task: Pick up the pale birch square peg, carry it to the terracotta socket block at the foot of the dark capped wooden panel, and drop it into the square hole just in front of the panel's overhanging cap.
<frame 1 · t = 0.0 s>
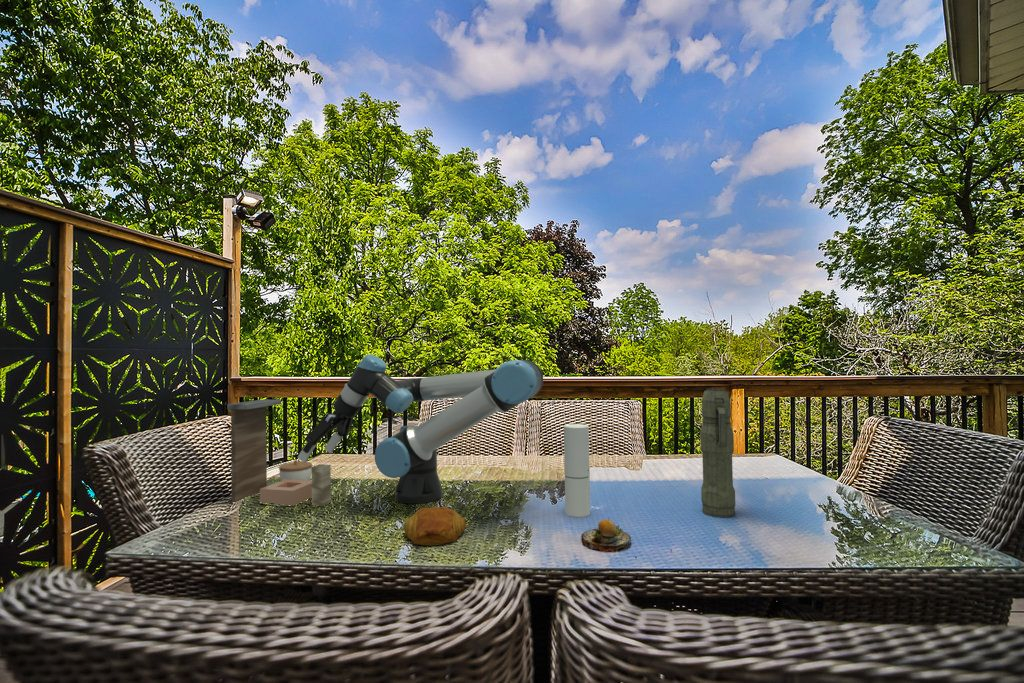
hand: (315, 455, 158), 15 cm above the table, fingers open, 13 cm apart
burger: (606, 544, 123), on the table
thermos: (718, 513, 144), on the table
croissant: (434, 538, 129), on the table
capped wooden panel: (257, 498, 165), on the table
cylindrical container: (577, 513, 146), on the table
peg: (321, 504, 158), on the table
lidded jar: (295, 487, 179), on the table
socket block: (289, 500, 163), on the table
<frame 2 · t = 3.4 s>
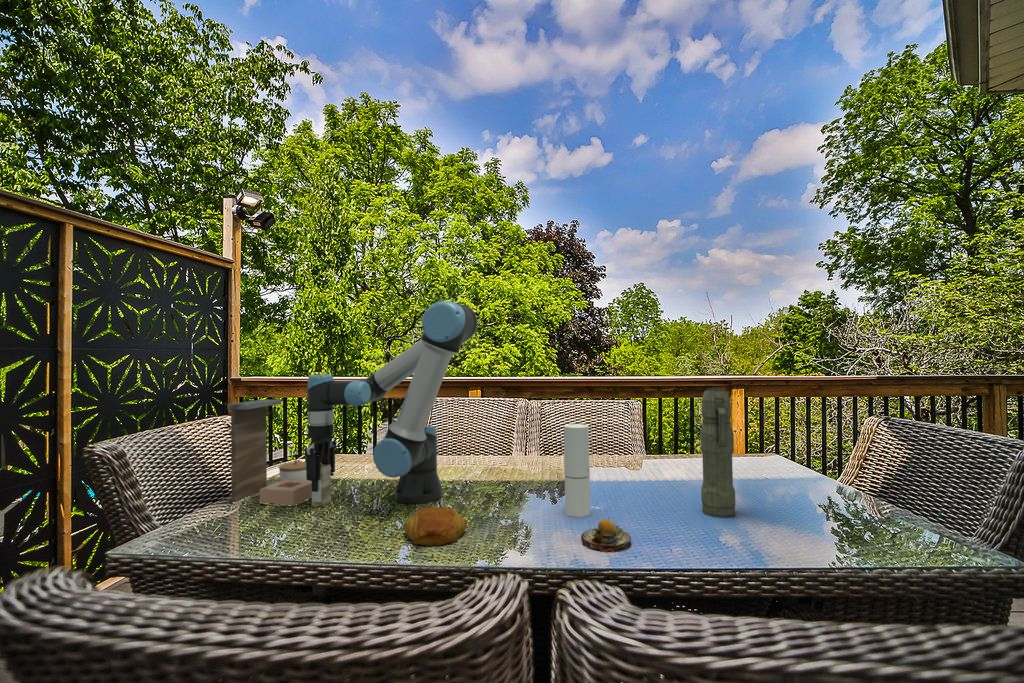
hand: (321, 499, 158), 2 cm above the table, fingers closed on peg, 4 cm apart
peg: (321, 504, 158), on the table, touching gripper
everything else where it was.
when the fingers open (7 cm above the table, at t = 7.4 s): peg drops 6 cm, resting in socket block.
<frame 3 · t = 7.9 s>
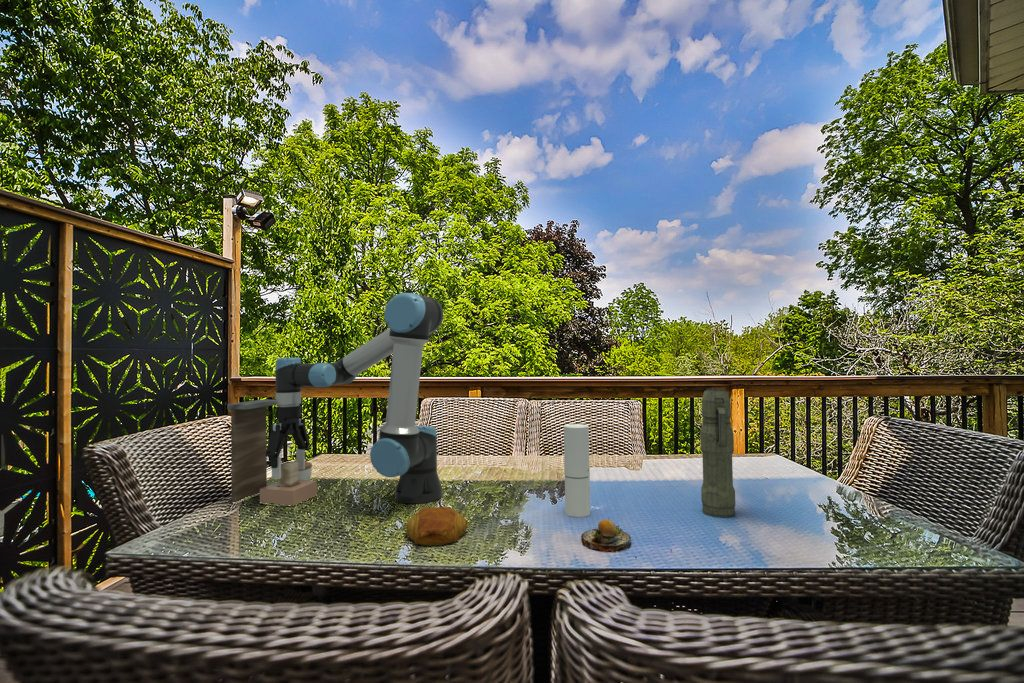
hand: (289, 473, 163), 9 cm above the table, fingers open, 11 cm apart
peg: (289, 500, 163), resting in socket block
everything else where it was.
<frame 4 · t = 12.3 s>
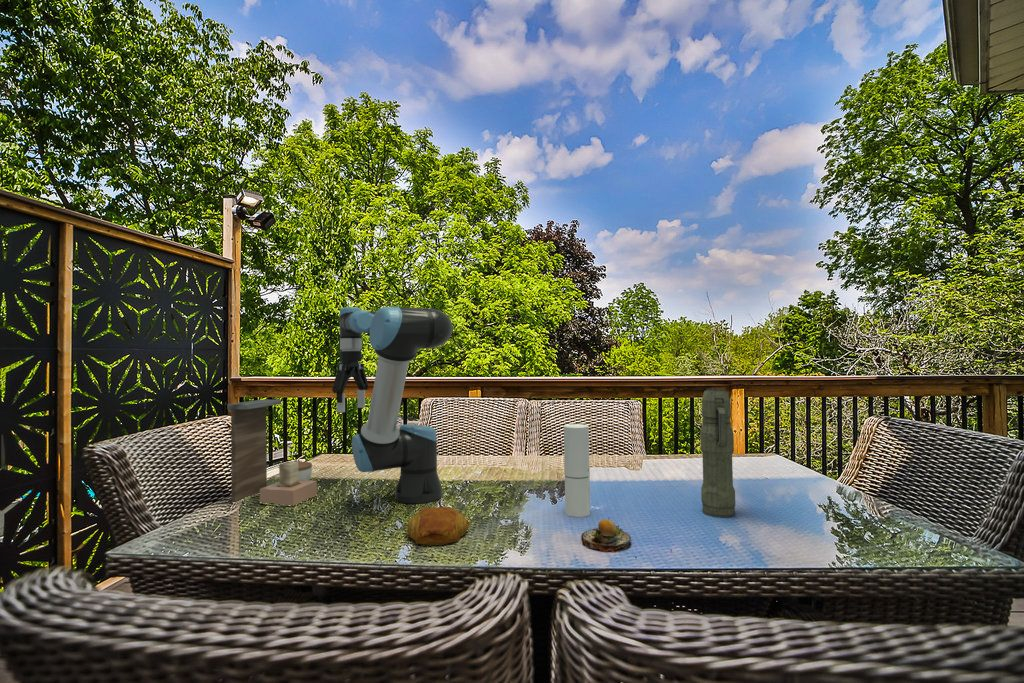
hand: (351, 409, 181), 27 cm above the table, fingers open, 13 cm apart
nothing on the table moved.
at the end: peg 0.0 cm off-centre on the socket block, point 0.0 cm above the socket block's base; peg tilted 0°; the gripper is holding nothing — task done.
